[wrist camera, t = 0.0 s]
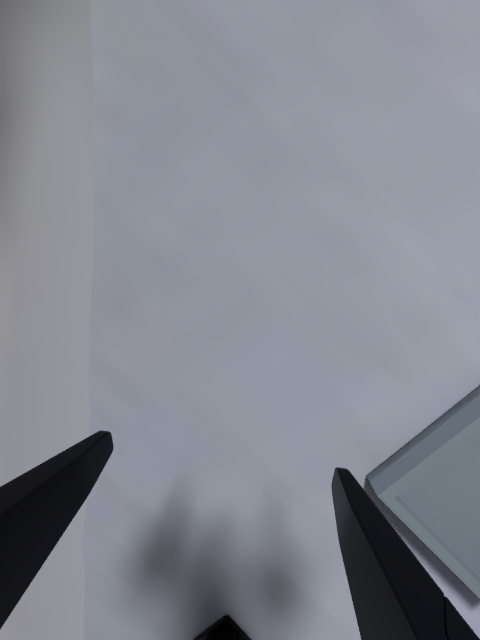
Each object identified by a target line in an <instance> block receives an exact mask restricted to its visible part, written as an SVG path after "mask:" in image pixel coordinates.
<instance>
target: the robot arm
mask: <svg viewBox="0 0 480 640" xmlns="http://www.w3.org/2000/svg"><path fill="white" fill-rule="evenodd" d="M112 451H113V441H112V436H111V433H110V432H108V431H98V432H96V433H95V434H93V435H91V436H89V437H88V438H86V439H84V440H82V441H81V442H79V443H77V444H75V445H74V446H72V447H70V448H68V449H66V450H65V451H63V452H62V453H59V454H58V455H56V456H54V457H52V458H51V459H49V460H47V461H45V462H44V463H42V464H40V465H38V466H36V467H35V468H33V469H31V470H29V471H28V472H26V473H24V474H22V475H20V476H19V477H17V478H15V479H13V480H12V481H10V482H8V483H7V484H5V485H3V486H1V487H0V629H1V627H2V626H3V624H4V623H5V621H6V620H7V618H8V616H9V615H10V614H11V612H12V611H13V609H14V608H15V606H16V605H17V603H18V602H19V600H20V598H21V597H22V595H23V594H24V592H25V591H26V589H27V588H28V586H29V585H30V583H31V582H32V580H33V579H34V577H35V576H36V574H37V573H38V571H39V570H40V568H41V566H42V565H43V563H44V562H45V560H46V559H47V557H48V556H49V554H50V553H51V551H52V550H53V548H54V547H55V545H56V544H57V542H58V541H59V539H60V538H61V536H62V535H63V533H64V532H65V530H66V528H67V527H68V526H69V524H70V522H71V521H72V519H73V518H74V516H75V515H76V513H77V512H78V510H79V509H80V507H81V506H82V504H83V503H84V501H85V500H86V498H87V496H88V495H89V493H90V492H91V490H92V488H93V486H94V485H95V483H96V481H97V479H98V477H99V476H100V474H101V472H102V470H103V468H104V466H105V465H106V463H107V461H108V459H109V457H110V456H111V454H112ZM332 495H333V503H334V510H335V517H336V524H337V531H338V538H339V544H340V549H341V553H342V557H343V562H344V566H345V570H346V575H347V579H348V583H349V588H350V592H351V596H352V601H353V605H354V609H355V614H356V618H357V622H358V627H359V631H360V635H361V640H480V639H479V638H478V636H477V635H476V634H475V633H474V631H473V630H472V629H471V628H470V626H469V625H468V624H467V623H466V621H465V620H464V619H463V618H462V616H461V615H460V614H459V612H458V611H457V610H456V608H455V607H454V606H453V605H452V603H451V602H450V601H449V599H448V598H447V597H444V593H443V592H442V591H441V589H440V588H439V587H438V585H437V584H436V583H435V581H434V580H433V579H432V578H431V576H430V575H429V574H428V572H427V571H426V570H425V568H424V567H423V566H422V565H421V563H420V562H419V561H418V559H417V558H416V557H415V556H414V554H413V553H412V552H411V550H410V549H409V548H408V546H407V545H406V544H405V543H404V541H403V540H402V539H401V537H400V536H399V535H398V533H397V532H396V531H395V530H394V528H393V527H392V526H391V524H390V523H389V522H388V521H387V519H386V518H385V517H384V515H383V514H382V513H381V511H380V510H379V509H378V508H377V506H376V505H375V504H374V502H373V501H372V500H371V498H370V497H369V496H368V495H367V493H366V492H365V491H364V489H363V488H362V487H361V485H360V484H359V483H358V482H357V480H356V479H355V478H354V476H353V475H352V474H351V473H350V471H349V470H348V469H345V468H339V467H337V468H335V471H334V475H333V480H332ZM194 640H250V639H249V638H248V636H247V635H246V634H245V633H244V632H243V631H242V630H241V629H240V628H239V627H238V626H237V625H236V624H235V622H234V621H233V620H232V619H231V618H230V617H229V616H224V617H223V618H222V619H220V620H219V621H218V622H216V623H215V624H214V625H213V626H211V627H210V628H209V629H207V630H206V631H205V632H203V633H202V634H201V635H200V636H198V637H197V638H196V639H194Z"/></svg>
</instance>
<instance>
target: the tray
mask: <svg viewBox="0 0 480 640" xmlns="http://www.w3.org/2000/svg"><path fill="white" fill-rule="evenodd" d="M366 477H367V479H368V480H369V482H370V484H371V486H372V488H373V489H374V491H375V493H376V495H377V496H378V497H379V498H380V499H381V500H382V501H383V502H384V503H385V504H386V505H387V506H388V507H389V508H390V509H391V510H392V511H393V512H394V513H395V514H396V515H397V516H398V517H399V518H400V519H401V520H402V521H403V522H404V523H405V524H406V525H407V526H408V527H409V528H410V529H411V530H412V531H413V532H414V533H415V534H416V535H417V536H418V537H419V538H420V539H421V540H422V541H423V542H424V543H425V544H426V545H427V546H428V547H429V548H430V549H431V550H432V551H433V552H434V553H435V554H436V555H437V556H438V557H439V558H440V559H441V560H442V561H443V562H444V563H445V564H446V565H447V566H448V567H449V568H450V569H451V570H452V571H453V572H454V573H455V574H456V575H457V576H458V577H459V578H460V579H461V580H462V581H463V582H464V583H465V584H466V585H467V586H468V587H469V588H470V589H471V590H472V591H473V592H474V593H475V594H476V595H477V596H478V597H479V598H480V386H478V387H477V388H476V389H475V390H473V391H472V392H471V393H470V394H468V395H467V396H466V397H465V398H463V399H462V400H461V401H460V402H458V403H457V404H456V405H455V406H453V407H452V408H451V409H450V410H448V411H447V412H446V413H444V414H443V415H442V416H441V417H439V418H438V419H437V420H436V421H434V422H433V423H432V424H431V425H429V426H428V427H427V428H426V429H424V430H423V431H422V432H421V433H419V434H418V435H417V436H416V437H414V438H413V439H412V440H411V441H409V442H408V443H407V444H406V445H404V446H403V447H402V448H401V449H399V450H398V451H397V452H396V453H394V454H393V455H392V456H391V457H389V458H388V459H387V460H386V461H384V462H383V463H382V464H380V465H379V466H378V467H377V468H375V469H374V470H373V471H372V472H370V473H369V474H368V475H367V476H366Z"/></svg>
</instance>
